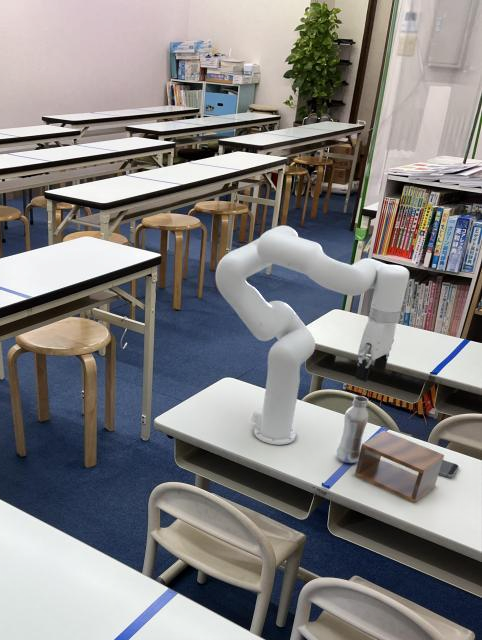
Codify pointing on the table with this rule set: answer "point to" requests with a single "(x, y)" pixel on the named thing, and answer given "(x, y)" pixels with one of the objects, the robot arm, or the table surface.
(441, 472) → the phone
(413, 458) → the shelf rack
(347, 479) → the table surface
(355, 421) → the plastic bottle
